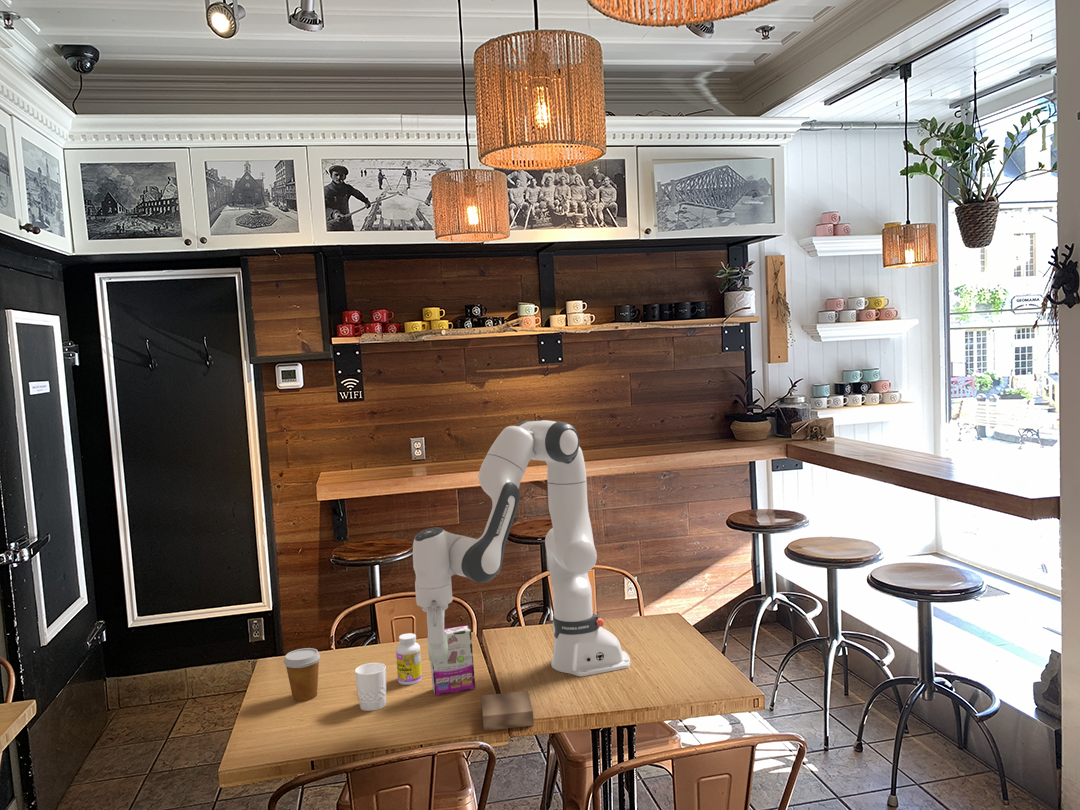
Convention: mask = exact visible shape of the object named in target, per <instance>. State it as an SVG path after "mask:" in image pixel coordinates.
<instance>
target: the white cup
mask: <svg viewBox="0 0 1080 810" xmlns="http://www.w3.org/2000/svg"><path fill="white" fill-rule="evenodd" d="M354 669H355V670H354V675H355V683H356V690H357V697H358V702H359V703H358V704H359V708H360V710H362V711H367V712H371V711H372V712H373V711H377V710H381V709H382V708H384V707H386V704H387V666H386V664H385V663H383V662H368V663H364V664H361V665H359V666H357V667H356V668H354Z"/></svg>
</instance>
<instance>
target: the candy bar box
mask: <svg viewBox="0 0 1080 810" xmlns="http://www.w3.org/2000/svg"><path fill="white" fill-rule="evenodd" d="M444 632H446V633H447V642H448V655H449V658H448V660H446V661H443V662H438V663H434V662H430V668H431V669H430V672H431V683H432V684H431V686H432V690H433V693H434V696H435V697H436V696H437V697H438V696H443V695H449V694H455V693H460V692H465V691H466V692H467V691H471V690H475V689H476V682H475V681H476V680H475V679H476V678H475V677H476V676H475V667H474V653H473V639H472V629H471V628H470V627H469V625H461V626H456V627H449V628H444Z"/></svg>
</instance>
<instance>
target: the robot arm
mask: <svg viewBox="0 0 1080 810" xmlns="http://www.w3.org/2000/svg"><path fill="white" fill-rule="evenodd" d="M577 431H578V430H577V429H576V428H575V427H574V426H573V425H572V424H569V423H567V422H563V421H554V420H549V419H547V420H546V419H543V420H533V421H531V420H525V421H521V422H518V423H517V424H515V425H509V426H506V427H505V428H503V430H501V432H500V433H499V434H498V436H497V437H496V439H495V440H494V442H493V443H492V445H490V448H489V449H488V451H487V453H486V456H485V457H484V460H483V461H482V463H481V466H480V468H479V470H478V482H479V485H480V487H481V488H482V490H483V492H484V493H485V494H486V495H488V497H489V498H490V499H491V502H492V505H491V506H492V507H491V511H490V514H489V516H488V520H487V522H486V524H485V528H484V531H483V533H482V534H481V535H480V537H478V538H473V537H470V536H466V535H461V534H456V533H452V532H449V531H446V530H445V529H443V528H442V527H439V526H438V527H430V528H426V529H423V530H421V531H419V532H418V533H416V535H415V536H414V539H413V544H412V563H413V564H412V565H413V566H412V567H413V570H414V573H415V581H414V586H415V587H414V588H415V601H416V602H415V603H416V606H418V607H421V611H423V612H424V613H426V625H427V628H426V629H427V635H428V639H427V642H428V641H429V645H431V646H433V647H434V655H435V656H441V655H442V644H444V629H445V615H446V614H445V613H446V612H445V611H446V610H447V609H448V608H449V604H450V603H452V602H453V589H452V588H453V587H452V577H453V576H454V575H457V576H461V577H463V578H468V579H469V580H471V581H472V582H473V581H474V582H476V583H478V584H479V583H480V584H483V583H484V584H485V583H488V582H490V581H492V580H493V579H494V578H495V577H496V576H497V575H498V574H499V573H500V570H501V569H502V565H503V560H504V552H505V548H506V544H507V541H508V538H509V535H510V532H511V529H512V527H513V523H514V519H515V517H516V514H517V510H518V507H519V504H520V500H521V499H520V498H521V493H520V492H521V491H520V486H521V481H522V479H523V477H524V474H525V472H526V470H527V468H528V464H529V463H530V461H531V460H533V461H538V462H539V461H540V462H545V463H546V465H547V473H546V474H547V477H546V478H547V498H548V500H547V502H548V511H549V515H550V520H551V524H552V528H551V529H549V531H547V533H546V534H545V535H546V536H545V539H544V544H545V550H546V556H547V564H548V570H549V576H550V580H551V581H550V582H551V589H552V597H553V598H552V599H553V600H552V601H553V616H552V633H553V636H554V640H553V641H554V642H553V643H554V644H553V655H552V659H551V663H550V666H551V668H552V669H554V670H555V671H557V672H561V673H565V674H570V675H573V676H575V677H586V676H592V675H596V674H602V673H608V672H613V671H618V670H619V671H620V670H624V669H625V670H626V669H628V668H629V667H630V666H631V657H630V656H629V654H628V653H627V652H626V651H625V650H623V649H622V647H621V644H620V641H619V639H618V638H617V636H616V635H615V634H613V633H611V631H609V630H607V629H605V628H604V627H603V626H604V625H605V622H604V620H603V618H601V616H600V615H599V614H597V613H596V612H593V595H592V593H593V592H592V590H593V589H592V586H591V582H590V579H589V574H588V573H589V572H590V571H591V570H592V569H594V567H595V565H596V562H597V559H598V554H597V553H598V552H597V549H596V547H595V542H594V535H593V528H592V522H591V518H590V513H589V504H588V483H587V480H588V479H587V471H586V463H585V457H584V454H583V450H582V448H581V447H580V438H579V434H578V432H577Z"/></svg>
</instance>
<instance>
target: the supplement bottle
mask: <svg viewBox="0 0 1080 810" xmlns="http://www.w3.org/2000/svg"><path fill="white" fill-rule="evenodd" d="M416 641H417V635H416V634H415V633H412V632H411V633H410V632H409V633H402V634H400V635H399V636H398V642H399V644H398V645H397V646H396V648H395V651H396V652H395V655H396V669H397V682H398V683H399V684H400V685H405V686H409V685H414V684H419V682H421V681H422V679H423V675H422V673H423V672H422V659H421V658H422V655H421V646H420V644H419V643H418V642H416Z"/></svg>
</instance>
